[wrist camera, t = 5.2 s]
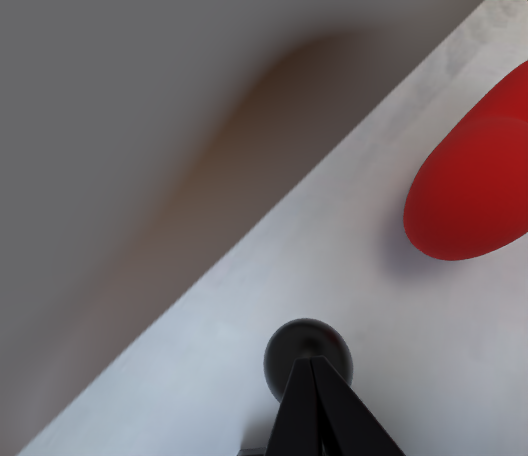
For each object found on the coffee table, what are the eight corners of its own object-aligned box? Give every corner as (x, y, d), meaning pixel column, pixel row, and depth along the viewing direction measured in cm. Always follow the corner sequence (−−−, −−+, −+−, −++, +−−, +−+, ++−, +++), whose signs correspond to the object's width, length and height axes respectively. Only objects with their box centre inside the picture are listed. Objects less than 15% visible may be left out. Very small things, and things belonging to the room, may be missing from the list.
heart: (449, 145, 23) (553, 1, 13) (521, 185, 21) (699, 49, 12) (353, 253, 20) (403, 164, 11) (426, 310, 18) (561, 261, 9)
